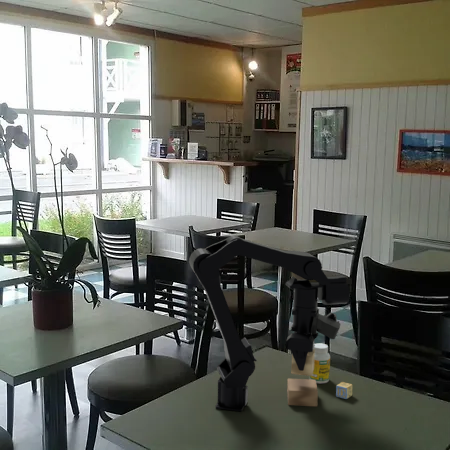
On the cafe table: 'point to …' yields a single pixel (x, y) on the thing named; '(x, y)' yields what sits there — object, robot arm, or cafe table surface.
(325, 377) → the supplement bottle
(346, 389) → the alphabet block
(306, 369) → the maple cube
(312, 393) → the walnut base block
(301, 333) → the robot arm
